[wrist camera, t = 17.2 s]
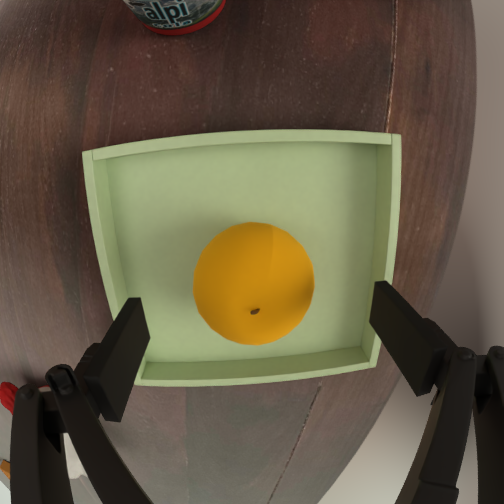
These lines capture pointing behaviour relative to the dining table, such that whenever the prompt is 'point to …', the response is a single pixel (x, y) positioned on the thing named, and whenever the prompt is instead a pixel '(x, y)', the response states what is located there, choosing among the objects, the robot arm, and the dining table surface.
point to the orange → (253, 283)
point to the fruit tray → (237, 212)
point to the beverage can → (175, 14)
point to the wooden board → (5, 468)
